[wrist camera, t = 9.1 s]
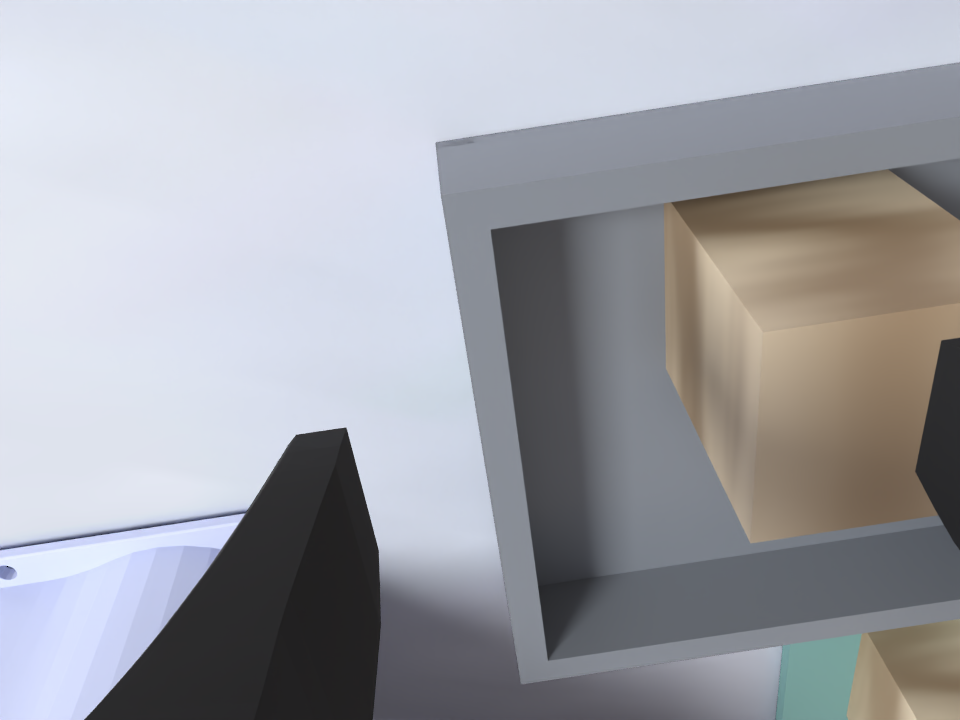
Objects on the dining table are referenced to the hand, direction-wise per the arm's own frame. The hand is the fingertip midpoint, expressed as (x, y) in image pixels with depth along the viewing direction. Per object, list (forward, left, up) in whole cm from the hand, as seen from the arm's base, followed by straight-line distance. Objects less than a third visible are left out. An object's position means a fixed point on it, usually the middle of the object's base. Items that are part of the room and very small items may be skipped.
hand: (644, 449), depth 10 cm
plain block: (+5, -3, -9) cm, 11 cm away
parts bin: (+5, -6, -9) cm, 12 cm away
